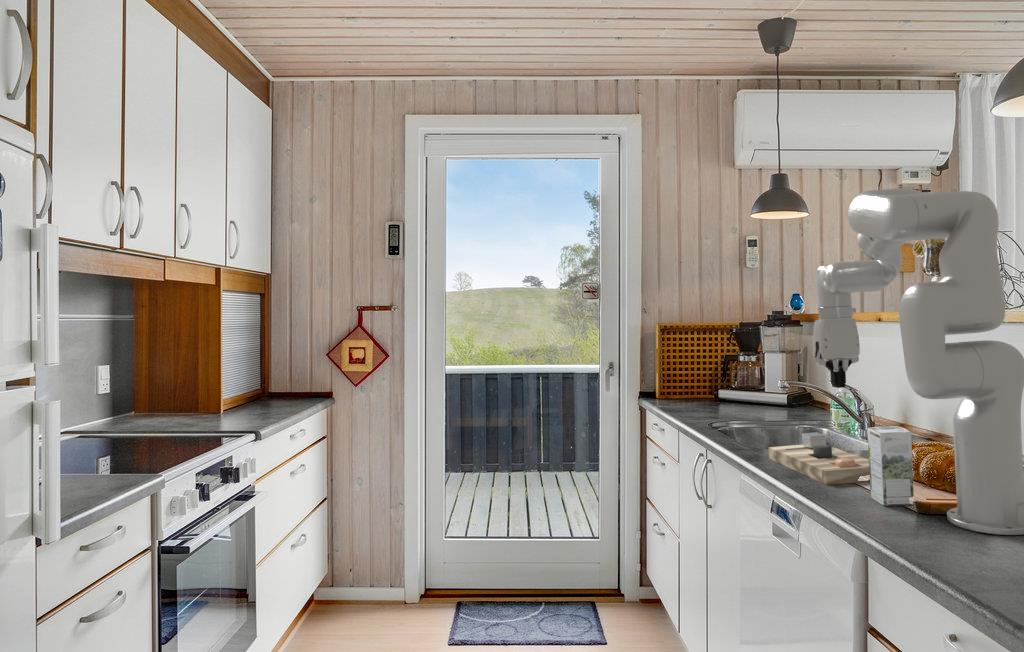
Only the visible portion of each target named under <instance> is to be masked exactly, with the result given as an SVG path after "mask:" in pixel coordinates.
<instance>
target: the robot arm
mask: <svg viewBox="0 0 1024 652" xmlns="http://www.w3.org/2000/svg"><path fill="white" fill-rule="evenodd" d="M847 220H848V223H849V226H850V228H851V229H852V230H853V231H854V232H856V233H857V237H856V242H857V245H858V248H859V249H860V251H861V252H862V253H863V254H865V256H867V257H868V258H871V259H864V260H863V259H861V260H850V261H847V260H846V261H837V262H836V261H835V262H832V263H829V264H824V265H819V266H818V268H817V269H816V289H817V290H816V291H817V292H816V294H817V311H818V319H815V320H814V326H813V334H812V356H813V358H814V359H815V364H816V365H819V366H824V367H826V369H827V370H828V371H829V372H830V383H831V386H832V387H833V388H836V389H838V388H839V389H840V388H842V389H843V388H846V383H847V375H846V372H847V371H848V370H849V368H850V366H851V364H852V365H853V364H856V363H858V362H859V361H860V358H859V356H860V353H861V348H860V346H861V345H860V338H859V331H858V325H857V322H856V319H855V317H853V314H855V313H857V309H856V307H853V305H852V304H853V303H852V294H853V293H855V294H856V293H867V292H879V291H881V290H883V289H885V288H887V287H888V286H889V285H890V284H891V283H892V282H893V281H894V280H895V279H896V278H897V277H898V275H899V274H900V273H901V271H902V266H903V265H902V264H903V252H902V249H901V247H903V245H905V243H906V242H911V241H924V240H936V239H946V241H945V242H944V244H943V246H942V247H941V250H940V252H939V255H938V266H939V267H938V268H939V273H940V280H929V281H922V282H918V283H915V284H913V285H911V286H909V287H908V288H907V289H906V290H905V291H904V293H903V294H902V297H901V299H900V301H899V308H898V319H899V328H900V329H899V330H900V334H901V335H900V337H901V343H902V351H903V357H904V359H903V360H904V365H905V373H906V377H907V380H908V383H909V385H910V388H911V389H912V390H913V393H914V392H915V394H916V395H918V396H919V397H921V398H923V399H928V400H947V399H948V400H951V399H961V400H960V402H959V404H958V406H957V407H956V410H955V412H954V414H953V415H954V416H953V419H952V420H953V421H952V433H953V452H954V453H953V454H954V471H955V474H954V475H955V488H956V490H955V491H956V507H952V508H950V509H949V510H947V511H946V518H947V520H948V521H949V522H950V523H951V524H952V525H955V526H957V527H959V528H962V529H964V530H965V529H966V530H969V531H973V532H978V533H983V534H984V533H985V534H988V535H989V534H992V535H1000V536H1001V535H1004V536H1018V535H1019V536H1020V535H1024V462H1023V460H1024V459H1023V445H1022V442H1023V441H1022V415H1021V414H1022V398H1023V392H1024V356H1023V354H1022V353H1021V351H1020V350H1019V349H1018V348H1016V347H1015V346H1013V345H1011V344H1009V343H1006V342H1004V341H999V340H988V339H987V340H970V341H958V342H946V336H951V335H964V334H965V335H967V334H976V333H977V334H979V333H985V332H990V331H993V330H996V329H998V328H999V327H1000V326H1001V325H1003V323H1004V321H1005V317H1006V304H1005V295H1004V290H1003V282H1002V274H1001V268H1000V263H999V257H998V248H997V246H998V236H999V234H998V233H999V213H998V209H997V207H996V204H995V203H994V201H993V200H992V199H991V198H990V197H989V196H988V195H986V194H983V193H982V192H977V191H970V190H968V191H967V190H963V191H962V190H961V191H960V190H959V191H957V190H956V191H940V192H937V191H936V192H927V193H926V192H925V193H924V192H922V191H920V190H918V189H915V188H909V187H908V188H907V187H906V188H905V187H903V188H889V189H875V190H866V191H862V192H860V193H859V194H857V196H855V197H854V198H853V200H852V201H851V203H850V205H849V207H848V212H847Z"/></svg>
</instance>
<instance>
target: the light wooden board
mask: <svg viewBox="0 0 1024 652" xmlns="http://www.w3.org/2000/svg"><path fill="white" fill-rule="evenodd" d="M831 447H832V458H824V459H817V458H815V457H814V455H813V448H809V447H806V446H803V445H802V444H792V445H781V446H771V447H770V446H769V447H768V459H769V460H770V461H773V462H775V463H778V464H779V465H781V466H784V467H786V468H788V469H790V470H793V471H795V472H797V473H799V474H802V475H804V476H806V477H808V478H810V479H811V480H815V481H817V482H819V483H821V484H824V485H825V486H828V485H829V486H830V485H837V484H838V485H841V484H850V483H852V484H853V483H860V482H859V481H858V479H859V477H860V476H866V475H870V473H869V458H865V457H863V456H859V455H858V454H854V453H851V452H848V451H844V450H841V449H839V448H836V447H833V446H831ZM838 458H848V459H853V460H855V467H845V468H840V467H838V466H835V459H838Z"/></svg>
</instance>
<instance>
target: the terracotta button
mask: <svg viewBox="0 0 1024 652" xmlns="http://www.w3.org/2000/svg"><path fill="white" fill-rule="evenodd" d="M835 466H838V467H840V468H845V467H855V460H853V459H848V458H838V459H835Z"/></svg>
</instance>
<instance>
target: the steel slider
mask: <svg viewBox="0 0 1024 652" xmlns="http://www.w3.org/2000/svg"><path fill="white" fill-rule="evenodd" d="M826 436H827V435H826V434H824V433H820V432H817V431H816V432H804V433H803V432H802V433H801V445H803V446H806V447H809V448H813V446H815V445H827V438H826Z"/></svg>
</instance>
